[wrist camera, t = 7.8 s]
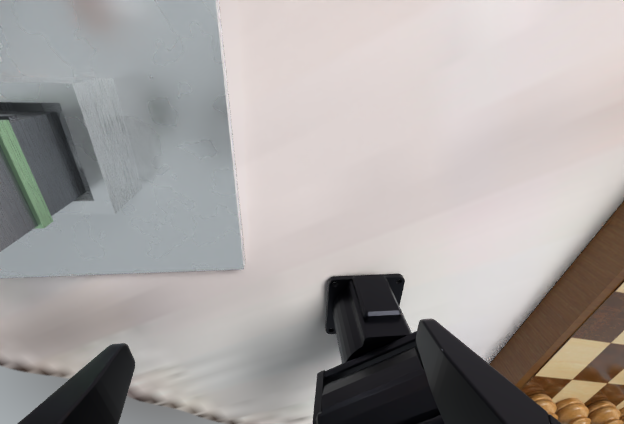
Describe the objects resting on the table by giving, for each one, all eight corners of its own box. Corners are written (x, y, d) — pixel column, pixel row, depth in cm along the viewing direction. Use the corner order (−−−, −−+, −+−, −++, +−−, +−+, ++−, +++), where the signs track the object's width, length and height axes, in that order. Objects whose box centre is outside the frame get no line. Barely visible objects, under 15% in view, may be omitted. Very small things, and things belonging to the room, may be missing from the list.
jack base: (245, 261, 23) (226, 366, 15) (-3, 269, 22) (-166, 392, 14) (211, -78, 14) (118, -251, 6) (-229, -108, 12) (-1138, -397, 4)
